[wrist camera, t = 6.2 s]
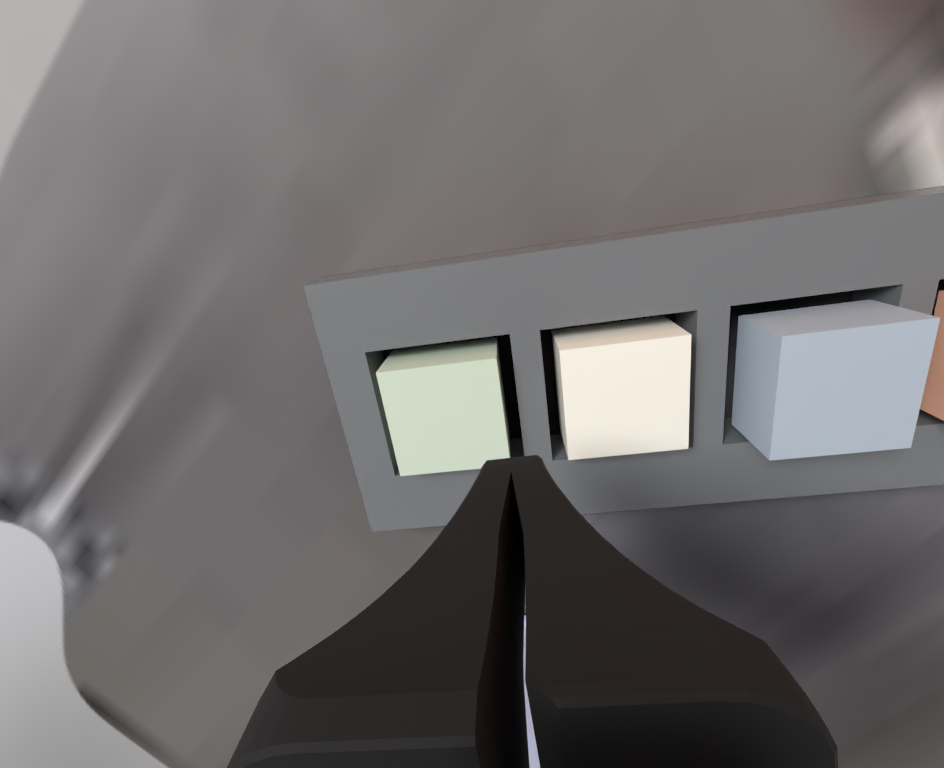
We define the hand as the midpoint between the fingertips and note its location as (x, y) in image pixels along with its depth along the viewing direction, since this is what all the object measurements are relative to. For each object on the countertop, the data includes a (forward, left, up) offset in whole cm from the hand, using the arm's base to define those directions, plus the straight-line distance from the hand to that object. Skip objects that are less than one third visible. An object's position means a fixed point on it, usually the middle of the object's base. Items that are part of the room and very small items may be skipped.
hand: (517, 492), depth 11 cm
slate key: (0, -10, -6) cm, 11 cm away
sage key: (0, +2, -7) cm, 7 cm away
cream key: (0, -4, -7) cm, 8 cm away
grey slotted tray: (0, -7, -7) cm, 10 cm away
